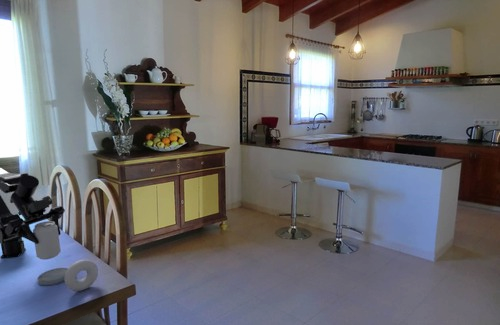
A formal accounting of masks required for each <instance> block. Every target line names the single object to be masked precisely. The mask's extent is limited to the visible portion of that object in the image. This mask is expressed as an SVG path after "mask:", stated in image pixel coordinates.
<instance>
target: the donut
mask: <svg viewBox="0 0 500 325" xmlns="http://www.w3.org/2000/svg"><path fill="white" fill-rule="evenodd" d="M67 268H68V270H67V271H66V274H65V280H64V283H65V286H66V287H67V288H68V289H69V290H71V291H73V292H81V291H85V290H87V289H88V288H90V287H91V286H93V284H94V283H96V281H97V279H98V276H99V268H98V266H97V264H96V263H95V261H93V260H91V259H86V258H85V259H80V260H77V261H75V262H74V263H72V264H71V265H70V266H69V267H67ZM82 271H85V272H86V275H85V277H83V278H82V279H78V277H77V276H78V274H79V273H80V272H82Z"/></svg>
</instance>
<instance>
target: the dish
mask: <svg viewBox="0 0 500 325" xmlns="http://www.w3.org/2000/svg"><path fill="white" fill-rule="evenodd" d="M68 268H69V267H57V268H53V269H49V270H46V271H45V272H43V273H41V274H40V275H38V277H37V283H38V285H40V286H42V287H43V286H45V287H48V286H49V287H50V286H54V285H55V286H56V285H58V284H61V283H65V281H64V280H65V274H66V271H67V270H68Z"/></svg>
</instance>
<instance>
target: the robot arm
mask: <svg viewBox="0 0 500 325" xmlns="http://www.w3.org/2000/svg"><path fill="white" fill-rule="evenodd" d="M39 184H40V181H39V178H37V177H36V176H33V175H30V174H29V173H27V172H25V173H21V174H19V173H13V172H12V173H11V172H9V171H7V170H5V169H3V168H2V167H0V190H1V192H3V193H4V194H10V193H11V196H10V198H9V202H10V203H11V204H14V206H15V207H16V209H17V210H18V213H14V214H13V213H12V212H11V210H10V208H9V207H8V205H7V204H6V202H5V200H4V198H3V197H2V195H1V194H0V247H1V253H2V254H1V255H0V258H1V259H3V258H18V257H20V256H21V255H22V254H23V253H24V252H25V251H26V250H27V249H26V247H25V242H24V240H23V239H25V240H28V241H30V242H32V243H33V244H35V243H36V244H38V243H39V241H38V239H37V238H36V236H35V235H34V234H33V230H32V229H31V227H30V225H33V224H37V223H40V222H41V221H42V222H43V221H45V220H47V221H53V222H55V224H56V225H57V227H58V234H59V236H61V229H60V222H59V220H60V219H61V218H62V216H63V215H64V214H65V212H66V210H65V208H64V207H63V206H61V205H59V206H54V207H51V208H50V206H51V205H53V202H54V201H53V199H52V198H51V197H50V196H49V195H47V196H43V197H42V198H41V199H40V200H34V198H33V196H34V194H35V192H36V190H37V189H38V187H39ZM48 208H50V210H49V211H48V212H46V211H47V209H48ZM45 212H46V213H45ZM44 213H45V214H44ZM21 216H22V218H21Z"/></svg>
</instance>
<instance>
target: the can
mask: <svg viewBox="0 0 500 325" xmlns="http://www.w3.org/2000/svg"><path fill="white" fill-rule="evenodd" d="M32 232H33V234H34V235H35V236H36V238H37V239H38V241H39V243H38V244H36V243H34V246H35V255H36V258H38V259H40V260H42V261H44V260H50V259H53V258H55V257H58V255H59V254H60V253H61V244H60V235H59V234H58V227H57V225H56V224H55V222H53V221H49V220H47V221H42V222H41V221H40V222H37V223H35V225H34V228H33V229H32Z"/></svg>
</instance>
